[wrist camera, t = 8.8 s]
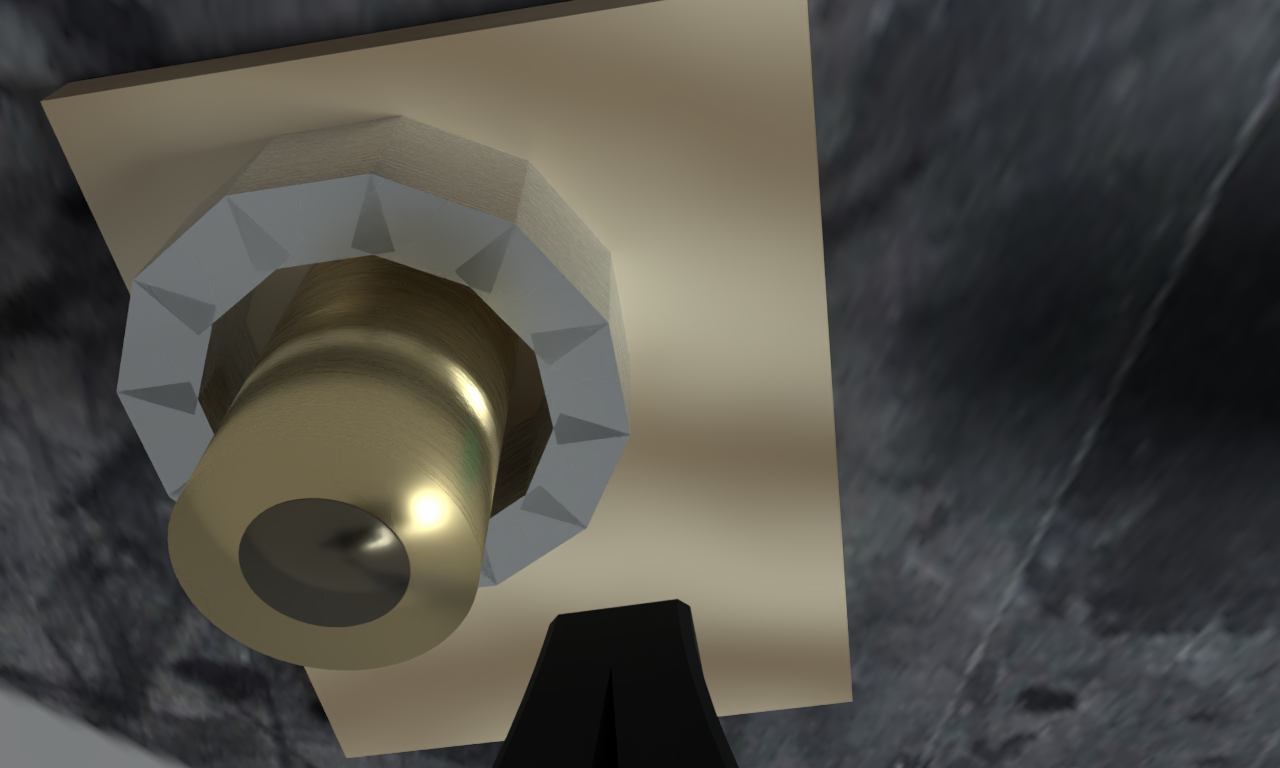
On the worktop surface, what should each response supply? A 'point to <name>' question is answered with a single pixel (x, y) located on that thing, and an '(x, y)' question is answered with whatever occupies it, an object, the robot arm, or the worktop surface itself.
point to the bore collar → (416, 237)
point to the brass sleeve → (352, 471)
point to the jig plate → (649, 297)
